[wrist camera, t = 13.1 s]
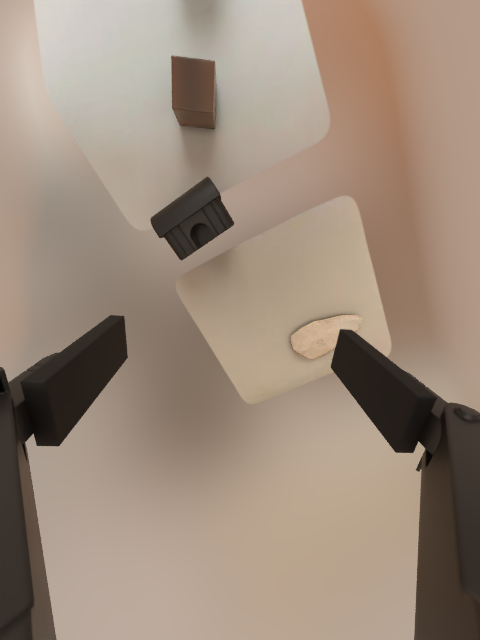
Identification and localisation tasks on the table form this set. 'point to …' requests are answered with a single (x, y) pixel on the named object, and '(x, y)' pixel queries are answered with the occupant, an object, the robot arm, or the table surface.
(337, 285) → the table surface
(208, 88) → the walnut block middle
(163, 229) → the end cap
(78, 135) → the table surface
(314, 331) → the stone
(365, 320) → the table surface
